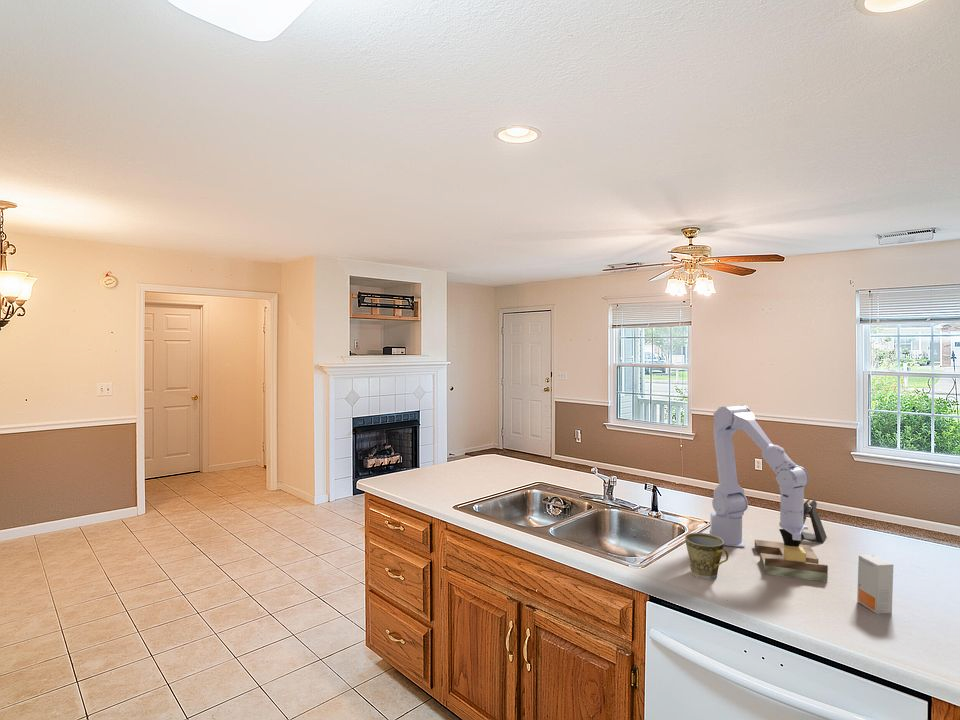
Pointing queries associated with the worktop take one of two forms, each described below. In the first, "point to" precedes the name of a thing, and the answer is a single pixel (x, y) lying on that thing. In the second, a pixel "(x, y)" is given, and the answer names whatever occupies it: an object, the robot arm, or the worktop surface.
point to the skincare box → (875, 583)
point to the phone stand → (813, 523)
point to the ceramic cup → (705, 554)
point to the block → (794, 553)
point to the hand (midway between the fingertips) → (790, 556)
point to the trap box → (790, 562)
